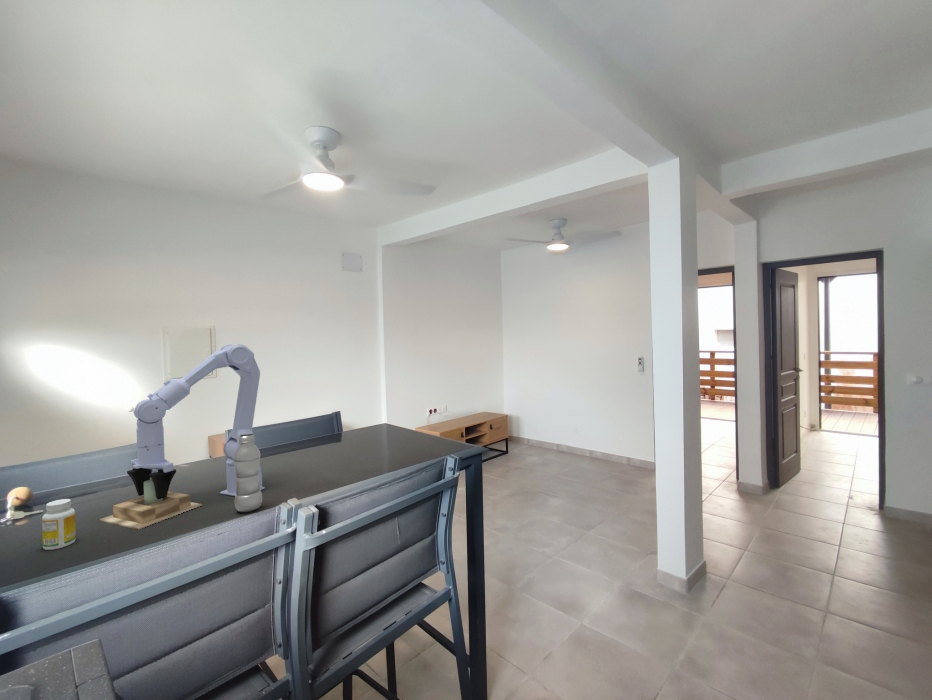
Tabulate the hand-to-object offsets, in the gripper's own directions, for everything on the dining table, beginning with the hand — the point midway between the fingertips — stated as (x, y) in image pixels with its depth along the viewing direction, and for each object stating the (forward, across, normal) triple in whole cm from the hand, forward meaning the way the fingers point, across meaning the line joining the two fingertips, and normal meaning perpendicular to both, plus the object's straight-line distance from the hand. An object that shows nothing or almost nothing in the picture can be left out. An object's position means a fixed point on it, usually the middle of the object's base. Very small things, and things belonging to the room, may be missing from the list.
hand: (152, 496), depth 112 cm
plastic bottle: (+5, +23, +10) cm, 25 cm away
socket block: (+4, 0, 0) cm, 4 cm away
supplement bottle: (+5, -1, -19) cm, 20 cm away
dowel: (+4, 0, 0) cm, 4 cm away
